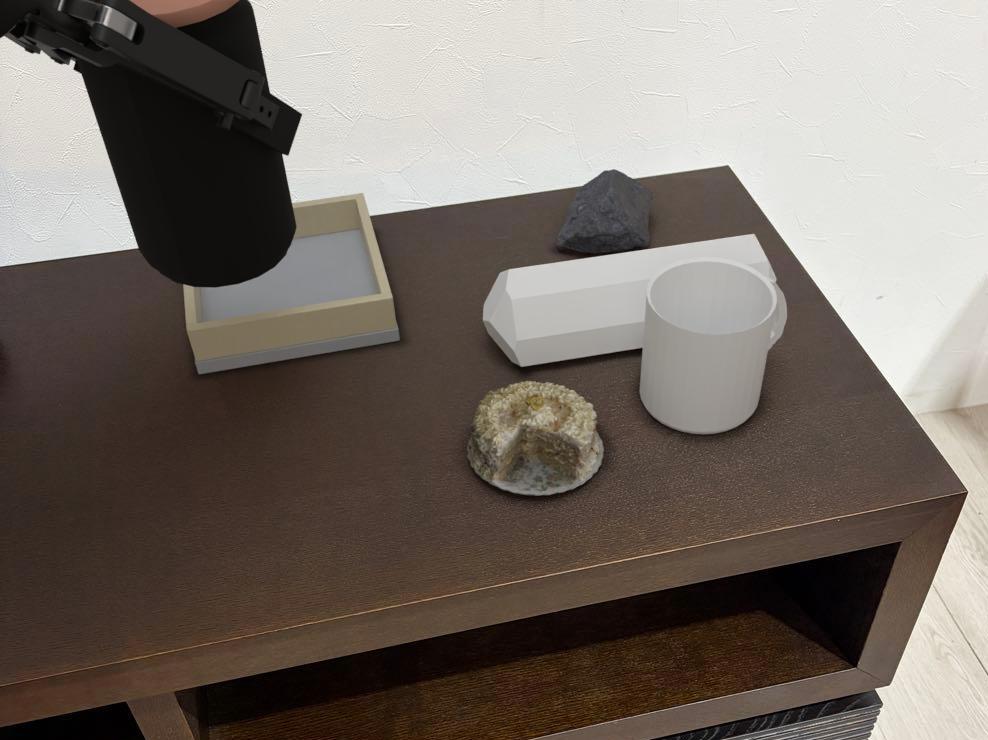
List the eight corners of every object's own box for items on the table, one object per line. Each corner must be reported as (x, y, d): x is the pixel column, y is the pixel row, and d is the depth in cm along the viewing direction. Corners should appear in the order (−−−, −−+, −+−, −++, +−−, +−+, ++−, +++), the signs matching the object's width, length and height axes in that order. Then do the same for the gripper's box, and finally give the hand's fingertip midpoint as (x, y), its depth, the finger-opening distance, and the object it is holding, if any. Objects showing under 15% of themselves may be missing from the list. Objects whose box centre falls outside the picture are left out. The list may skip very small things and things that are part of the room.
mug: (672, 449, 80) (683, 347, 73) (619, 375, 85) (625, 274, 78) (814, 406, 83) (838, 304, 76) (754, 337, 88) (771, 237, 81)
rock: (575, 282, 95) (680, 241, 96) (566, 227, 91) (675, 185, 92) (537, 228, 101) (636, 191, 102) (526, 174, 97) (630, 136, 98)
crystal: (496, 353, 81) (801, 305, 84) (477, 264, 82) (778, 221, 86) (490, 387, 88) (771, 342, 92) (473, 305, 90) (751, 264, 93)
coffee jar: (321, 214, 79) (273, -54, 65) (266, 303, 72) (200, 23, 58) (182, 198, 80) (108, -67, 67) (115, 283, 73) (17, 7, 60)
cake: (455, 424, 83) (450, 365, 79) (583, 404, 84) (584, 345, 80) (481, 510, 76) (477, 449, 72) (621, 486, 77) (623, 425, 73)
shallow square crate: (198, 374, 86) (185, 331, 83) (189, 261, 96) (177, 219, 93) (400, 340, 89) (394, 297, 85) (370, 233, 99) (364, 191, 96)
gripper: (-256, -36, 55) (77, 123, 76) (72, 71, 47) (345, 216, 68) (-217, -187, 54) (110, 16, 75) (126, -104, 46) (386, 97, 67)
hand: (222, 111), depth 71 cm, fingers closed on coffee jar, 11 cm apart
